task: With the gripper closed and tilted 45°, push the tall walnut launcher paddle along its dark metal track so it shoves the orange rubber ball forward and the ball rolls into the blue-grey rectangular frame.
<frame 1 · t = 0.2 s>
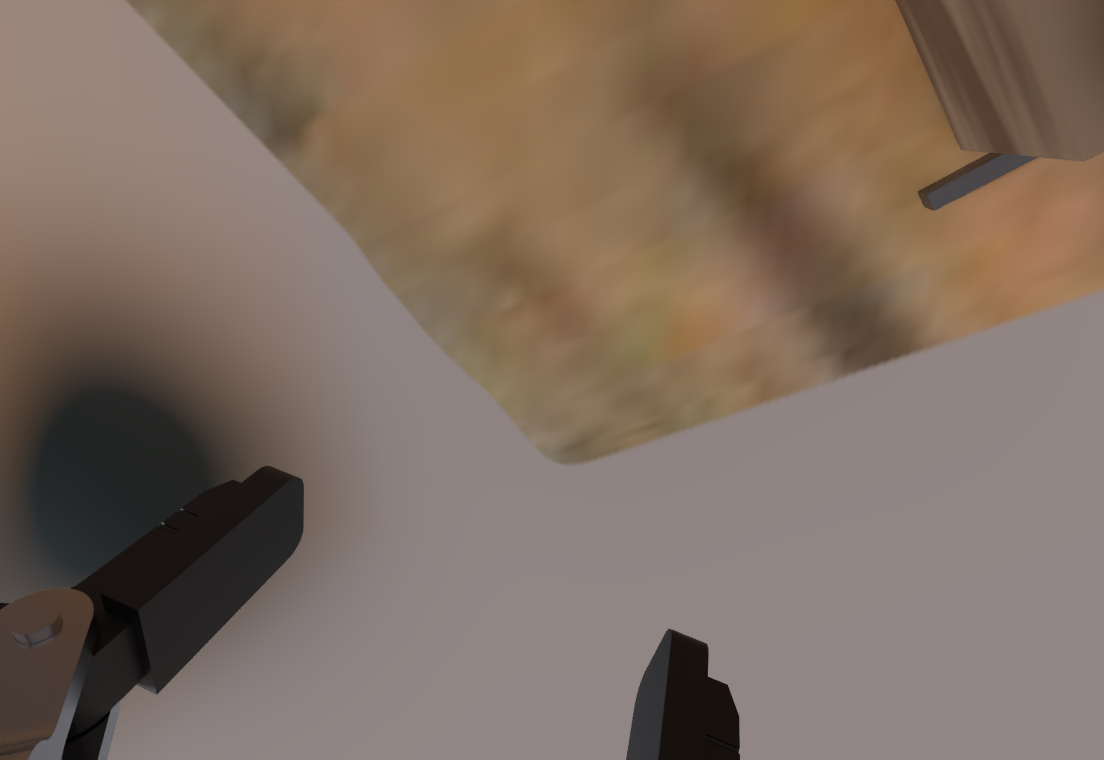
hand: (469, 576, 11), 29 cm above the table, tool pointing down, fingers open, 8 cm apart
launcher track: (952, 45, 29), on the table
launcher paddle: (1007, 28, 24), point 6 cm above the table, slide at 0.0 cm
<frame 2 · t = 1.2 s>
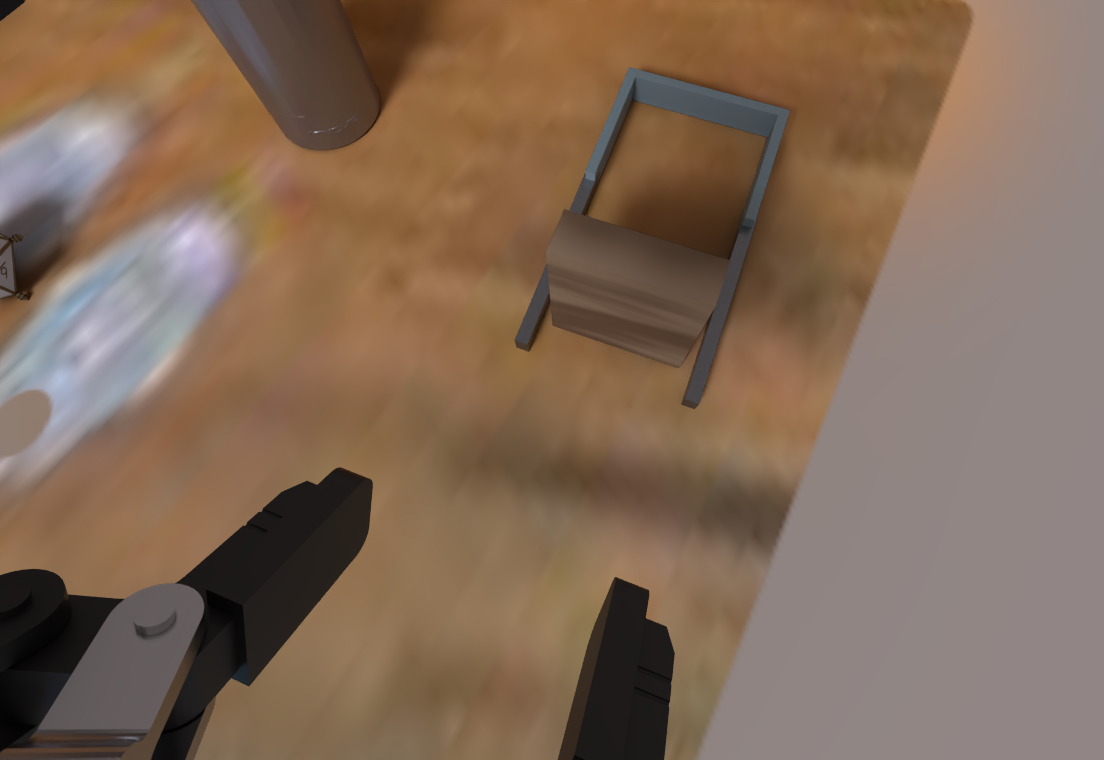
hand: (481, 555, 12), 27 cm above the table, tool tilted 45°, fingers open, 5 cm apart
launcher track: (620, 330, 42), on the table
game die: (4, 286, 46), on the table
blue-grey rectangular frame: (683, 160, 47), on the table
launcher paddle: (628, 297, 37), point 6 cm above the table, slide at 0.0 cm
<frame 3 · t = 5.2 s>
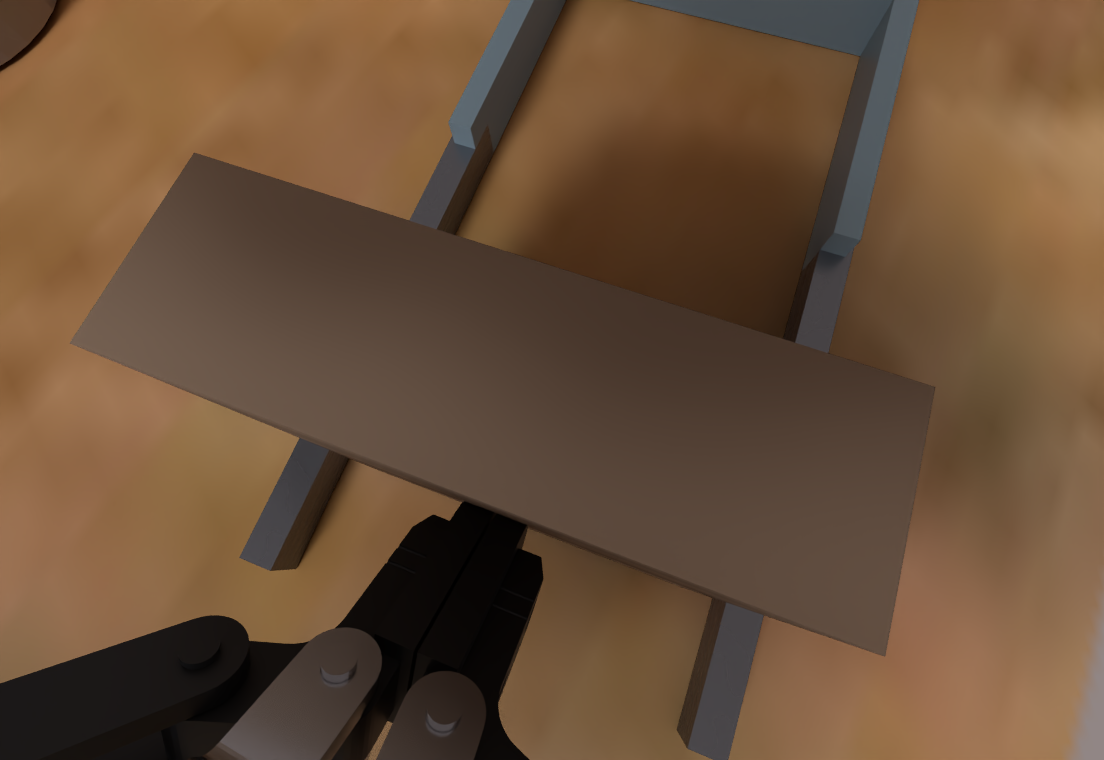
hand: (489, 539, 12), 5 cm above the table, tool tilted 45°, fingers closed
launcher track: (526, 512, 17), on the table
blue-grey rectangular frame: (678, 106, 21), on the table
launcher paddle: (523, 446, 12), point 6 cm above the table, slide at 1.1 cm, touching gripper
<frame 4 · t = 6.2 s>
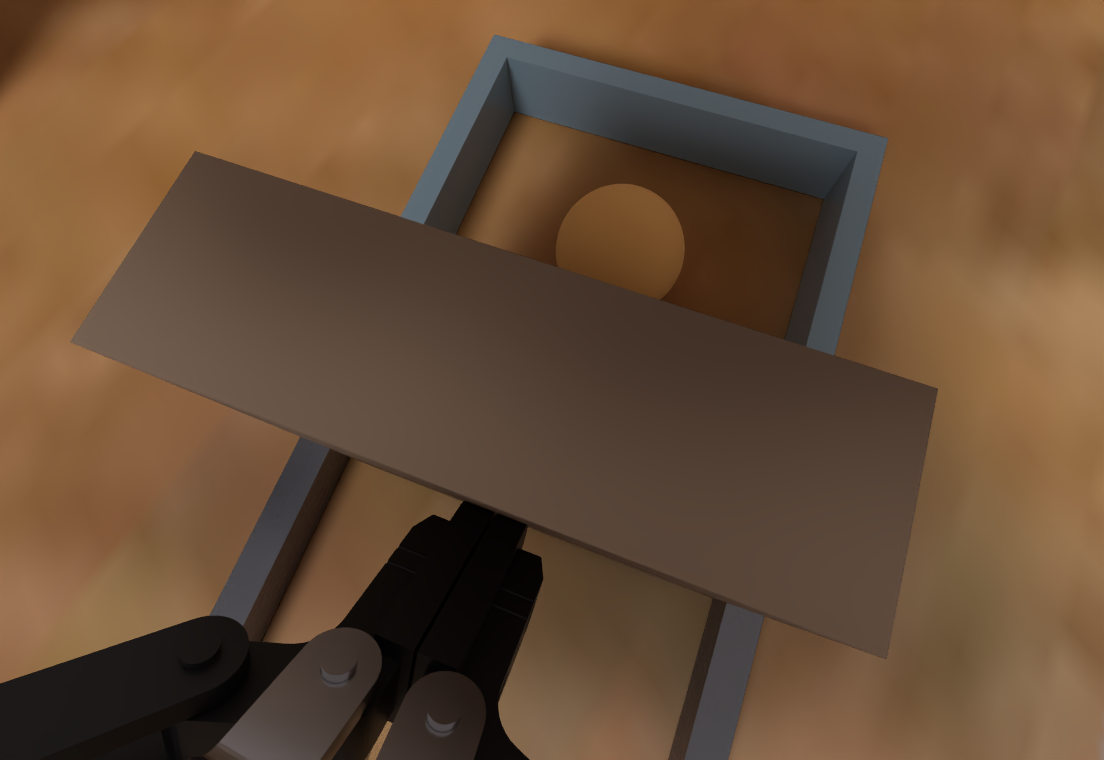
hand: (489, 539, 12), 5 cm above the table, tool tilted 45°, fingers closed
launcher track: (436, 752, 15), on the table
ball: (619, 251, 17), point 2 cm above the table, tilted 39°
blue-grey rectangular frame: (623, 257, 20), on the table
launcher paddle: (524, 445, 12), point 6 cm above the table, slide at 8.0 cm, touching gripper
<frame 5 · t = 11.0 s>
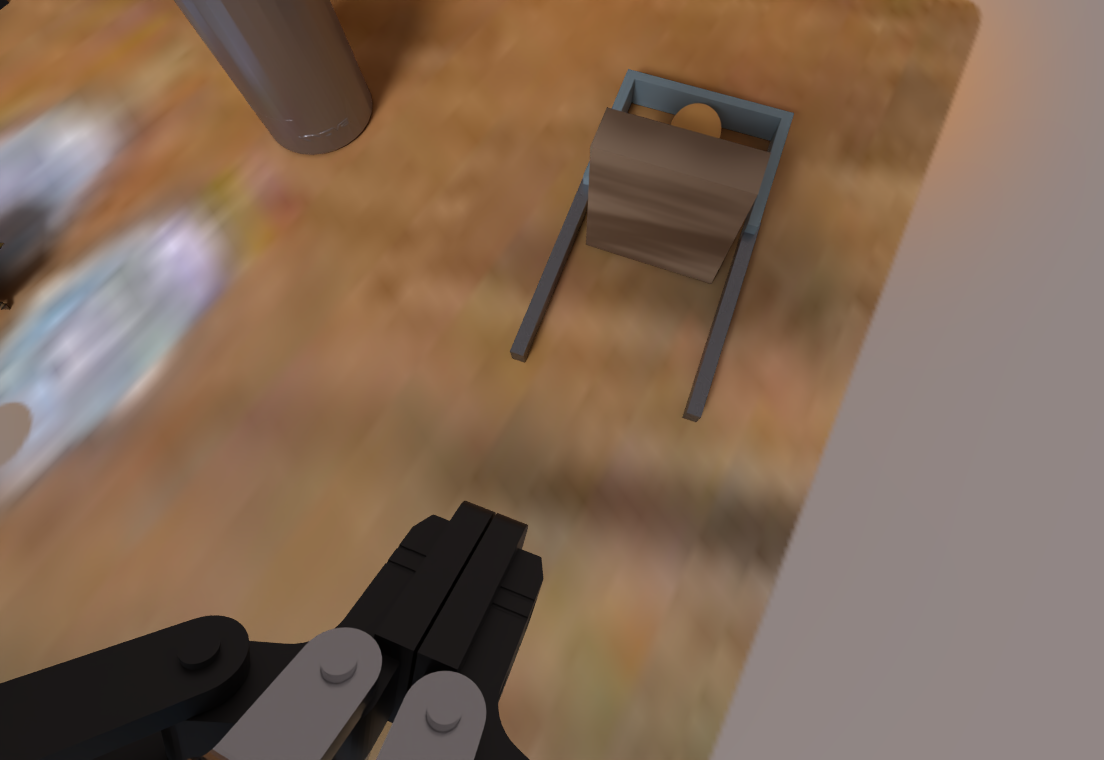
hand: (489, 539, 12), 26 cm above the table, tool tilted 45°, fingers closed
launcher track: (619, 340, 41), on the table
ball: (694, 131, 44), point 2 cm above the table, tilted 37°
blue-grey rectangular frame: (683, 165, 45), on the table
launcher paddle: (664, 205, 38), point 6 cm above the table, slide at 8.1 cm
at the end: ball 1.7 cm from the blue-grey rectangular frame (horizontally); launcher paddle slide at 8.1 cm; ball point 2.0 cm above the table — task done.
